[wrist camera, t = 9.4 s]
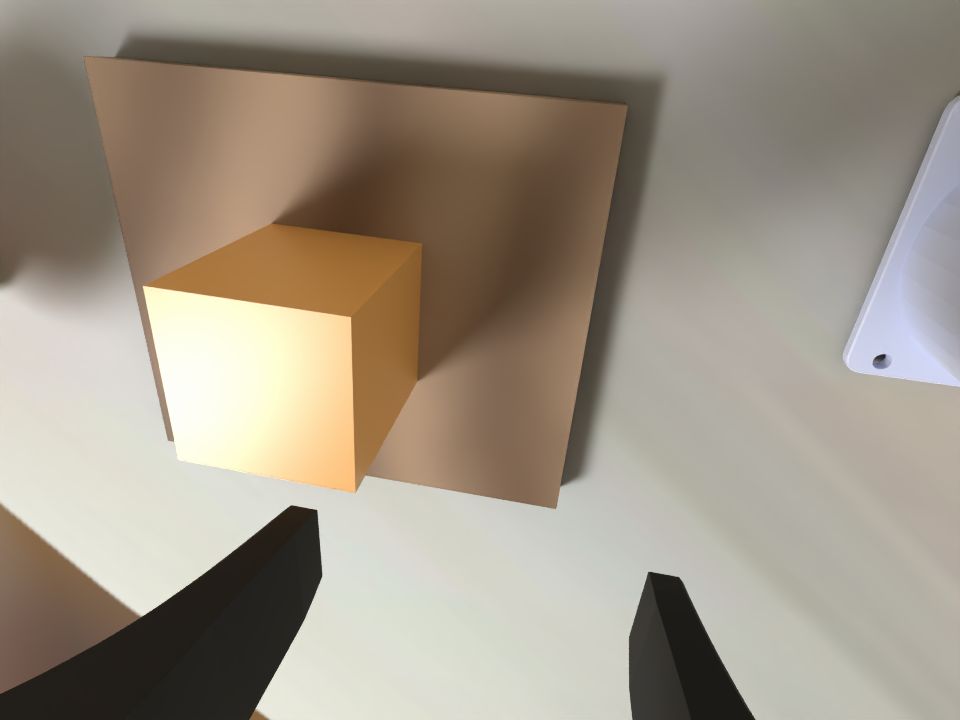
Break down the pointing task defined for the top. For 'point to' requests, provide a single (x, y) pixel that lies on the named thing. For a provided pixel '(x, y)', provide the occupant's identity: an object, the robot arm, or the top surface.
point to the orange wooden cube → (289, 352)
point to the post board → (393, 232)
